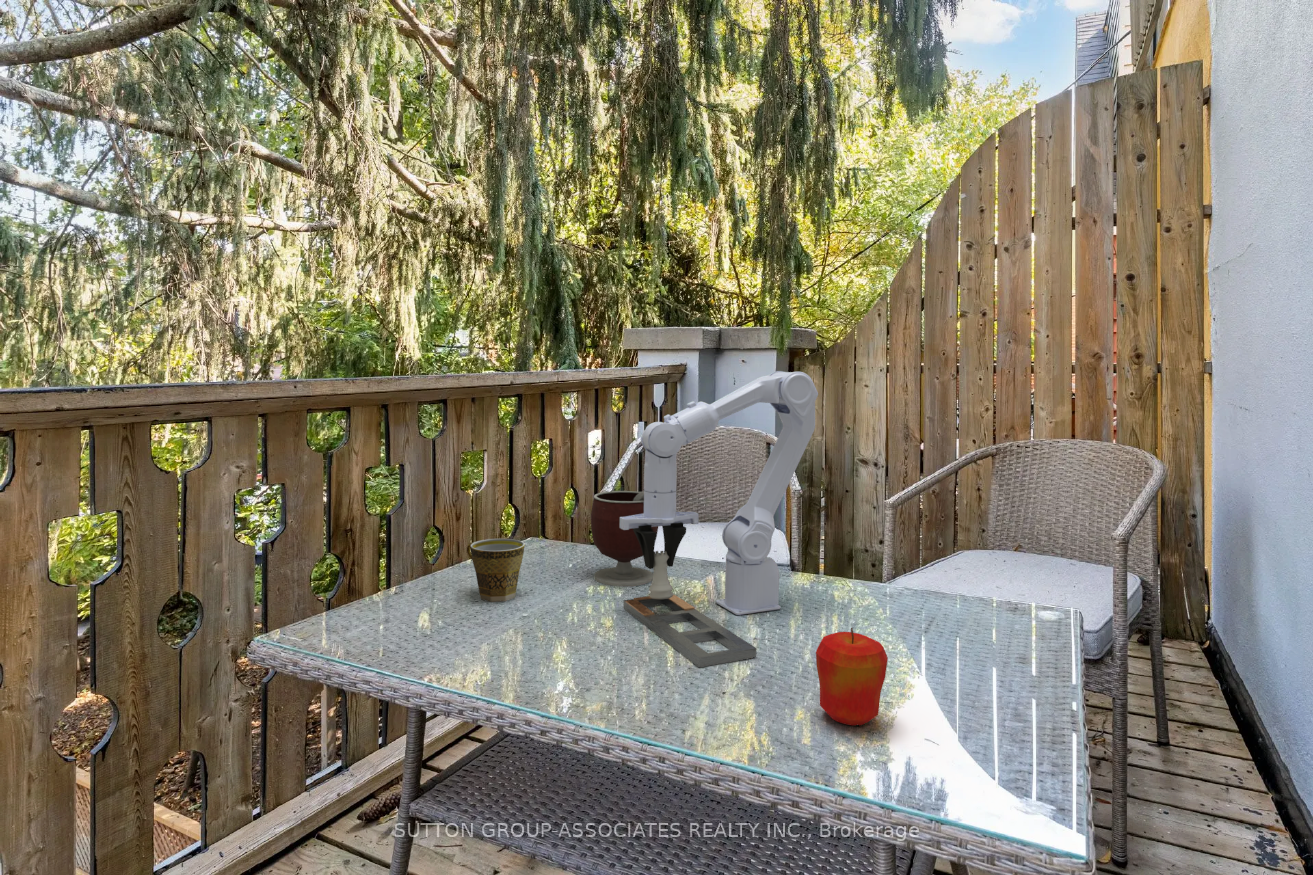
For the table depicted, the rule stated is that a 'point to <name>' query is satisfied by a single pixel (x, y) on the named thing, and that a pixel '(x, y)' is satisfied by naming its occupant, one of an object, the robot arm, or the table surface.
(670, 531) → the robot arm
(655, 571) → the rook chess piece
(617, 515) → the mate gourd
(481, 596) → the ceramic cup
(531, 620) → the table surface
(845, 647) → the apple
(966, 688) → the table surface
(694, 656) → the hole rail
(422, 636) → the table surface
